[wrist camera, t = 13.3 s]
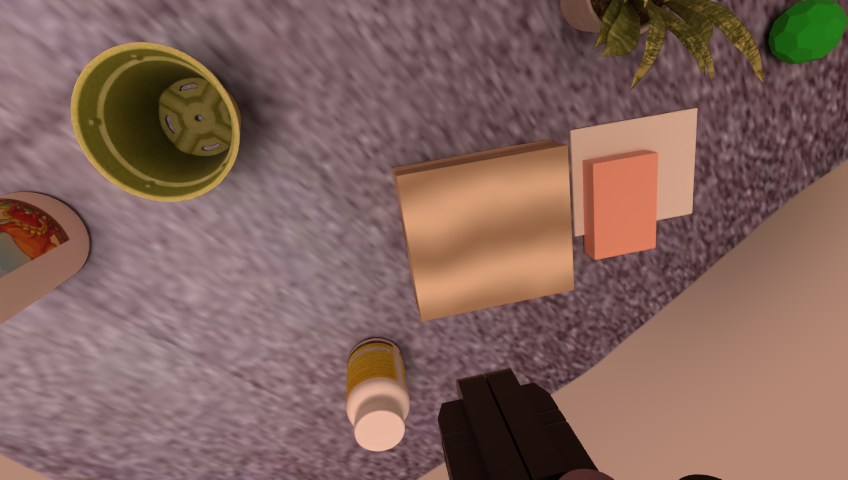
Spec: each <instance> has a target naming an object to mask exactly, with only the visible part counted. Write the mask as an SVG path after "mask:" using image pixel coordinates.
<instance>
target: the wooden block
mask: <svg viewBox="0 0 848 480" xmlns="http://www.w3.org/2000/svg"><path fill="white" fill-rule="evenodd" d="M392 169H393V175H394V180H395V186H396V192H397V197H398V203H399V209H400V214H401V220H402V225H403V231H404V237H405V242H406V248H407V254H408V259H409V265H410V271H411V276H412V282H413V288H414V293H415V299H416V303H417V307H418V310H419V314H420V317H421V321H422V322H423V321H427V320H432V319H437V318H442V317H446V316H451V315H456V314H461V313H466V312H470V311H475V310H480V309H485V308H489V307H494V306H499V305H504V304H509V303H513V302H518V301H523V300H528V299H533V298H537V297H542V296H547V295H552V294H556V293H561V292H566V291H571V290H574V275H573V252H572V229H571V207H570V184H569V161H568V145H565V144H562V143H558V142H554V141H551V140H544V141H538V142H532V143H527V144H521V145H516V146H510V147H504V148H499V149H493V150H488V151H482V152H476V153H471V154H465V155H460V156H454V157H448V158H443V159H437V160H432V161H426V162H421V163H415V164H409V165H404V166H398V167H393V168H392Z"/></svg>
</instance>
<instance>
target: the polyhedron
mask: <svg viewBox="0 0 848 480" xmlns="http://www.w3.org/2000/svg"><path fill="white" fill-rule="evenodd" d="M847 21H848V20H847V17H846V15H845V12H844V10H843V8H842V7H841V6H840V5H839V4H838V3H837V2H835V1H831V0H805V1H802V2H798V3H795V4H794V5H793V6H792V7H790V8H789V9H788V10H787V11H786V12H785V13H783V14H782V15H781V16H780V17H779V18H778V19H776V20H775V21H774V24H773V26H772V29H771V31H770V34H769V41H768V43H769V46H770V49H771V52H772V54H773V55H775V56H776V57H777V58H778V59H779V60H782V61H784V62H787V63H789V64H797V63H804V62H809V61H814V60H818V59H820V58H822V57H823V56H825V55H826V54H827V53H829V52H830V51H831V50H833V49H834V48H835V47H836V46H837V45H838V44H839V42H840V40H841V37H842V35H843V33H844V31H845V28H846V24H847Z"/></svg>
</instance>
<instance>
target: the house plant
mask: <svg viewBox="0 0 848 480" xmlns="http://www.w3.org/2000/svg"><path fill="white" fill-rule="evenodd" d="M560 9H561V12H562V14H563V17H564V18H565V20H566V21H567V23H568V24H569V25H571V26H572V27H573V28H575V29H577V30H580V31H585V32H593V33H599V36H598V39H597V42H596V44H595V46H594V47H593V48H595V47H596V46H598V45H601V44H604V43H607V44H606V47H605V50H604V52H603V54H601V55H600V56H624V55H626V54H628V53H630V52H631V51H633V50H634V49H635V48H636V46H637V44H638V41H639V36H640V34H642V33H644V32H646V31H647V30H649V31H648V35H647V40H646V47H645V52H644V57H643V60H642V62H641V64H640V66H639V68H638V70H637V72H636V74H635V76H634V80H633V84H632V87H631V89H632V88H633V87H634V86H635V85H636V84H637V83H638V82H639V80H640V79H641V78H642V77H643V76H644V75H645V73H646V72H647V71H648V69H649V68H650V66H651V65H652V63H653V62H654V60H655V59H656V57H657V56H658V54H659V51H660V49H661V47H662V44H663V41H664V37H665V32H666V28H665V27H667V28H668V29H669V30H670V31H671V32H672V33H673V34H674V35H675V36H676V37H677V38H678V39H679V40H680V41H681V42H682V44H683V45H684V46H685V48H686V49H687V50H688V51H689V52H690V53H691V54H692V55H693V56H694V58H695V59H696V61H697V64H698V66H699V69H700V70H701V71H702V72H703V74H704V77H705V67H704V63H705V64H706V67H707V70H708V73H709V75H710V77H711V78H712V80H714V66H713V61H712V57H711V53H710V51H709V49H708V47H707V45H708V42H709V40H710V38H711V36H712V33H713V25H712V23H714V24H715V25H716V26H717V27H718V28H719V29H720V30H721V31H722V32H723V33H724V34H725V35H726V36H727V37H728V38H729V40H730V41H731V42H732V43H733V44H734V45H735V46H736V47H737V48H738V49H740V50H741V51H742V52H743V53H744V54H745V56H746V57H747V58H748V59H749V61H750V63H751V65H752V67H753V69H754V71H755V74H756V75H757V76H758V77H759V78H760V79H761V80H762V82H763V86H764V75H763V69H762V61H761V58H760V54H759V51H758V48H757V46H756V43H755V41H754V39H753V38H752V36H751V34H750V33H749V31H748V30H747V29H746V27H745V26H744V25H743V24H742V22H741V21H740V20H739V19H738V18H737V17H736V16H735V15H734V14H733V13H732V12H731V11H729V10H728V9H727V8H725V7H724V6H723V5H721V4H718V3H715V2H712V1H709V0H560ZM669 9H671V10H672V11H674V12H675V13H676V14H678V15H679V16H680V17H681V18H682V19H683V20H684V21H685V22H686V23H685V22H683V21H682V20H680V19H679V18H677V17H676V16H674V15H673V14H671V13H669V12H668V11H669ZM631 89H630V90H631ZM630 90H629V91H630Z"/></svg>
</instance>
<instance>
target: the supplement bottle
mask: <svg viewBox="0 0 848 480" xmlns="http://www.w3.org/2000/svg"><path fill="white" fill-rule="evenodd" d="M409 407H410V401H409V394H408V389H407V382H406V376H405V370H404V364H403V359H402V355H401V352H400V350H399V349H398V347H397V346H396V345H395V344H393V343H392V342H390V341H388V340H385V339H381V338H372V339H368V340H365V341H363V342H361V343H359V344H358V345H357V346H356V347H355V348H354V349H353V350H352V351H351V353H350V355H349V358H348V364H347V394H346V410H347V415H348V418H349V420H350V422H351V423H352V424H353V425H354V434H355V438H356V440H357V442H358V443H359V444H360V445H361V446H362V447H364V448H365V449H368V450H371V451H384V450H387V449H390V448H392V447H394V446H395V445H396V444H398V443H399V442H400V440H401V439H402V437H403V435H404V431H405V424H404V420H405V419H406V417H407V415H408V412H409Z"/></svg>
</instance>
